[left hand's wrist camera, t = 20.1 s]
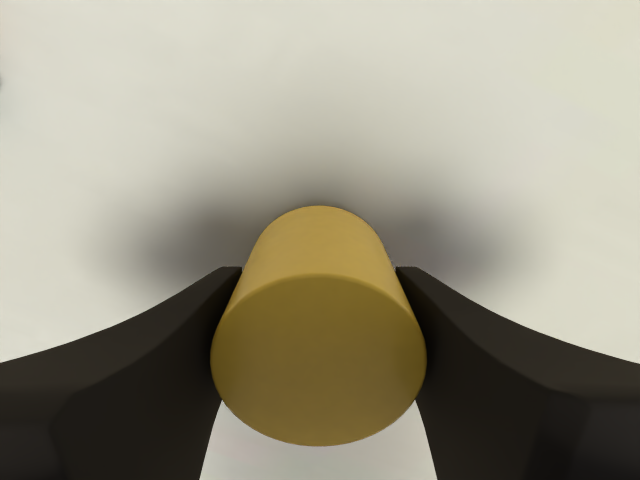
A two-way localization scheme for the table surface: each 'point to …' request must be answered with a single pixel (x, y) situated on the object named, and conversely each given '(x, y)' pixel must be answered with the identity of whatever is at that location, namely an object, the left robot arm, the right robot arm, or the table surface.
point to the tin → (318, 333)
